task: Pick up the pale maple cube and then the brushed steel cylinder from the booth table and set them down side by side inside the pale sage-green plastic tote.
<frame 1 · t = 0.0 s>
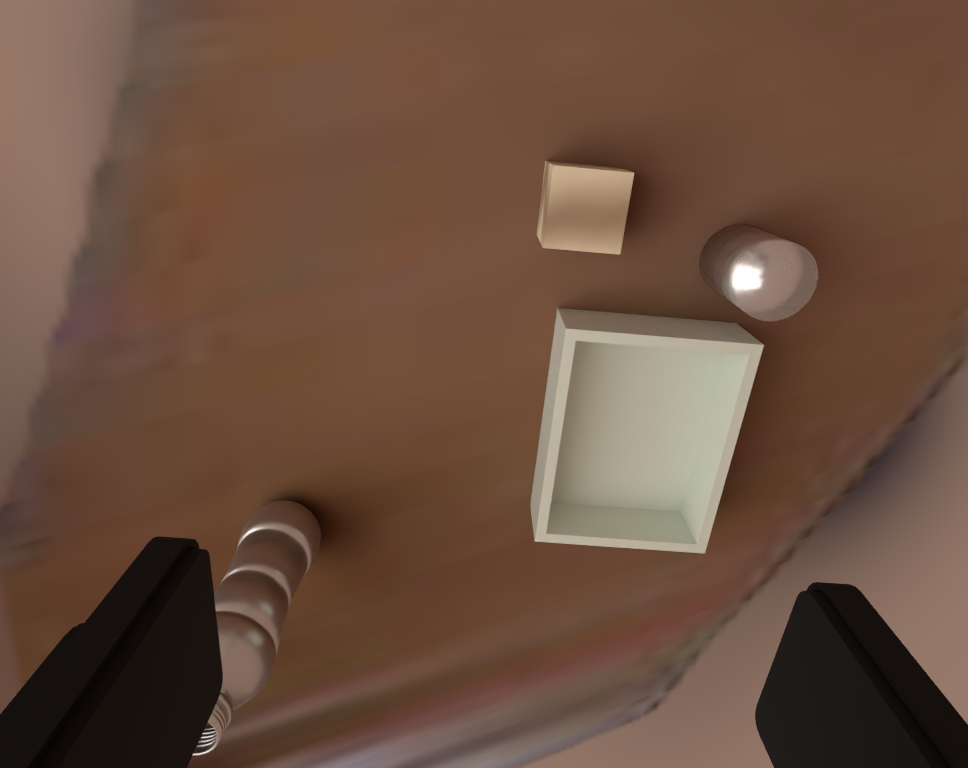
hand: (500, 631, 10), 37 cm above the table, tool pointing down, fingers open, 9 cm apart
plastic bottle: (290, 521, 53), on the table
maple cube: (576, 201, 43), on the table
tote: (626, 419, 49), on the table
steel cylinder: (734, 259, 44), on the table
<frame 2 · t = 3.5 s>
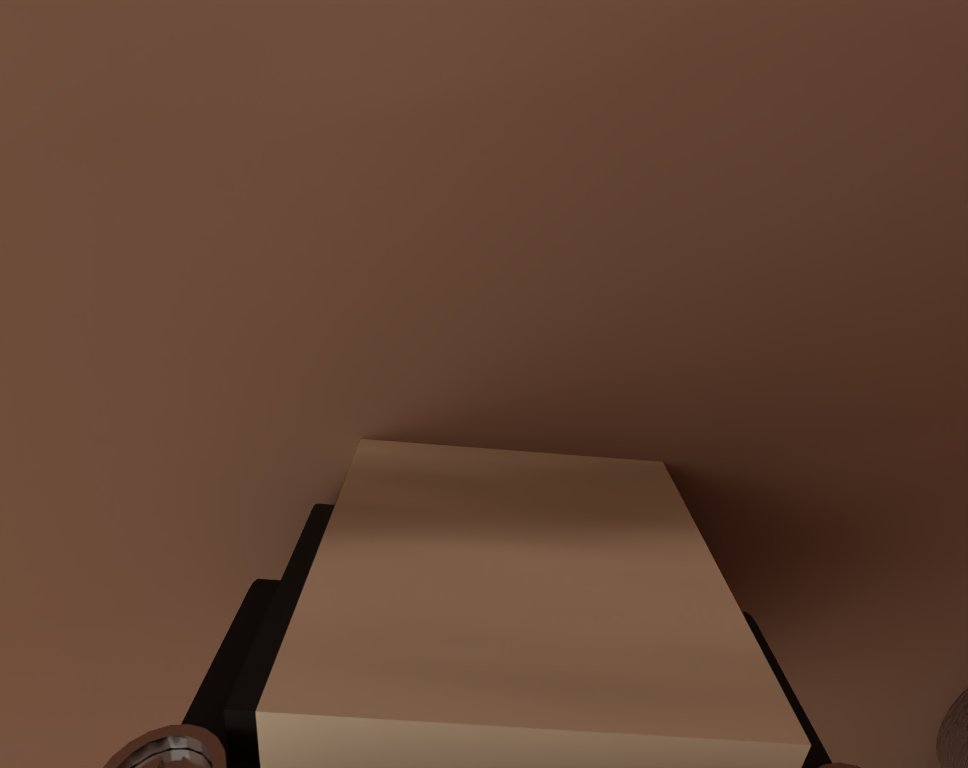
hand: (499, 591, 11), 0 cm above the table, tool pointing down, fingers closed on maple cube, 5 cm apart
maple cube: (498, 570, 11), on the table, touching gripper
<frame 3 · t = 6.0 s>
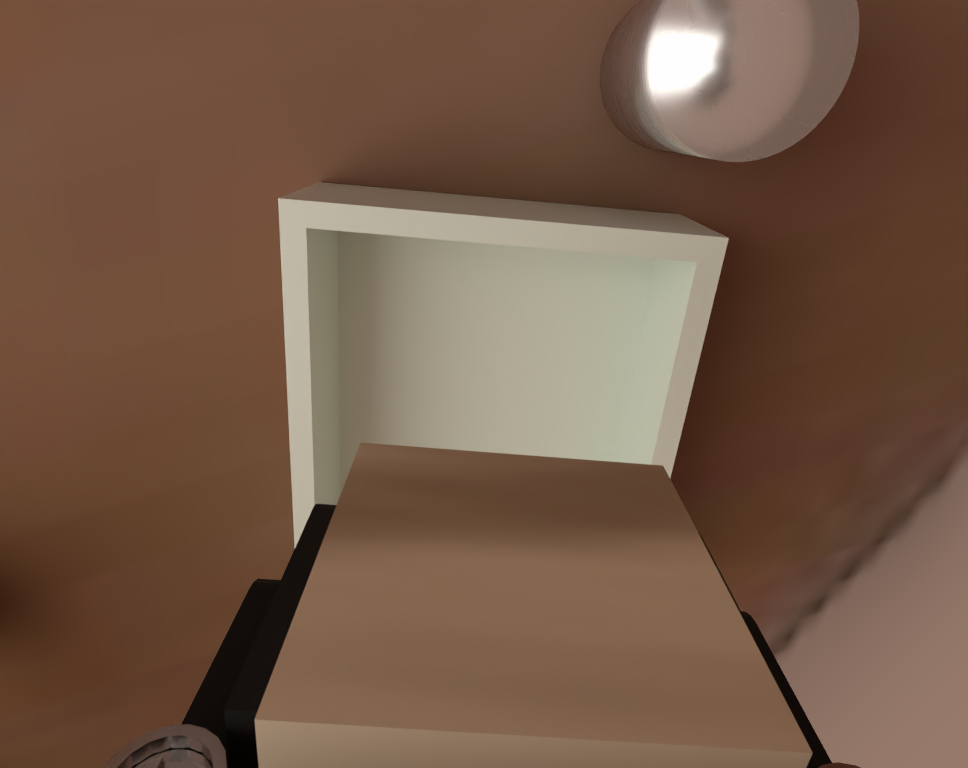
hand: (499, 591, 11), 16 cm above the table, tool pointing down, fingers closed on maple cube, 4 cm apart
maple cube: (498, 574, 11), point 15 cm above the table, touching gripper
tote: (482, 408, 26), on the table
steel cylinder: (671, 72, 21), on the table
when the fingers open (4 cm above the table, at t = 8.5 s): maple cube drops 3 cm, resting on tote.
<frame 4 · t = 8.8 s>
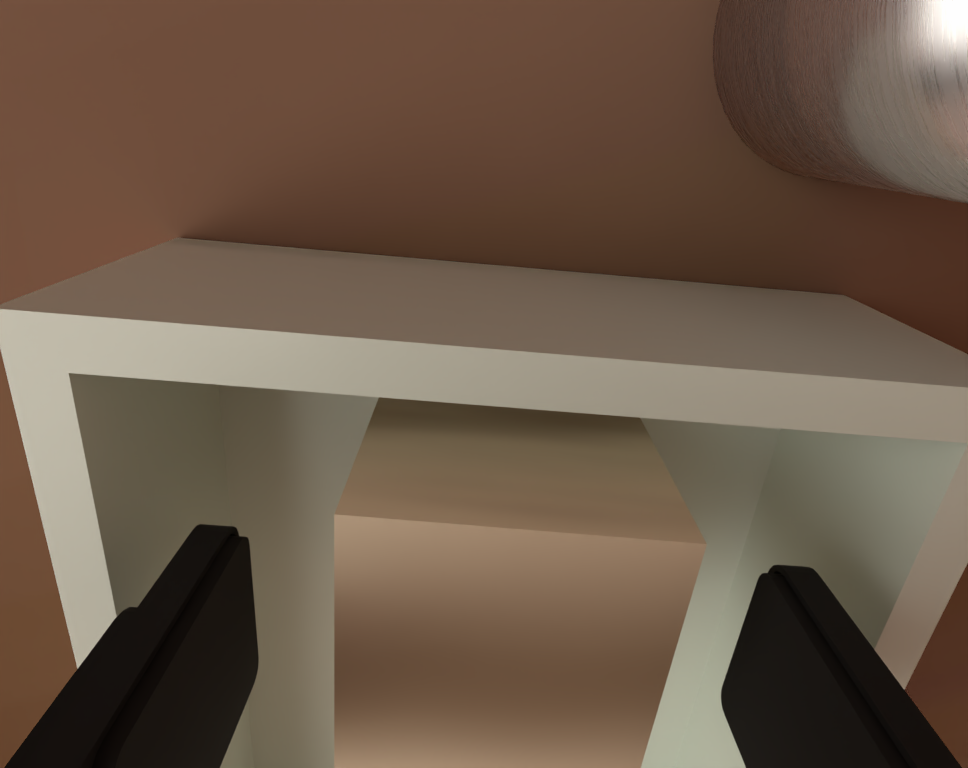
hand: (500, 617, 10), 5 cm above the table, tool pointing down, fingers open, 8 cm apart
maple cube: (496, 484, 14), point 1 cm above the table, touching tote
tote: (480, 602, 16), on the table
steel cylinder: (856, 28, 11), on the table
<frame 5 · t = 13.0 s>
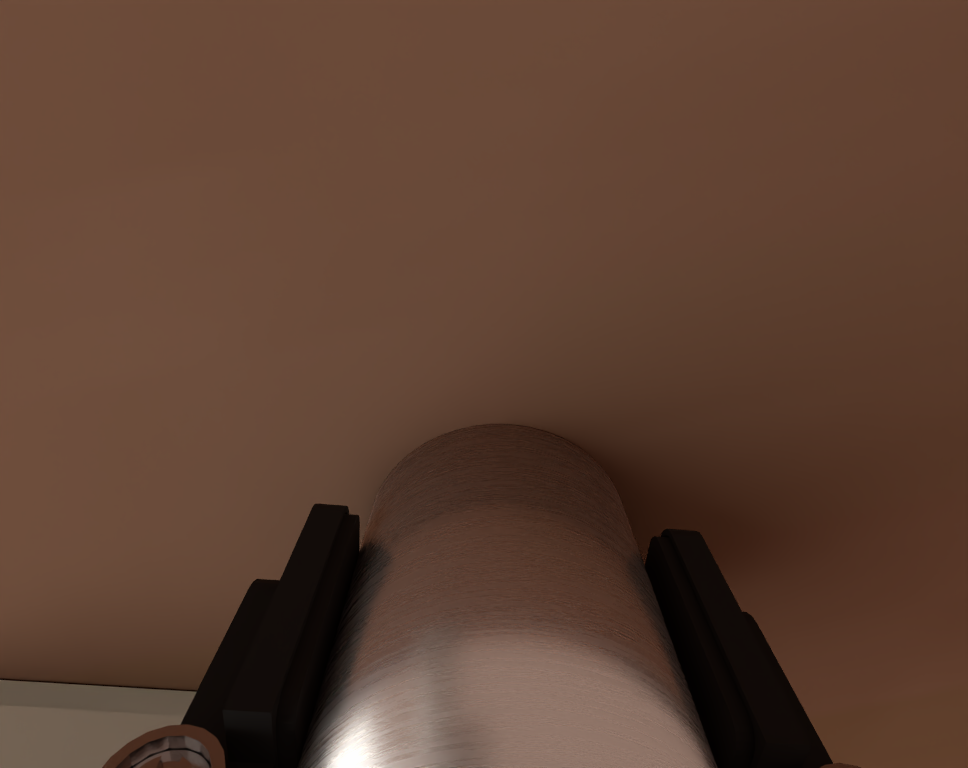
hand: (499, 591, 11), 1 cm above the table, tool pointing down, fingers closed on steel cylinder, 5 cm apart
steel cylinder: (497, 538, 12), on the table, touching gripper
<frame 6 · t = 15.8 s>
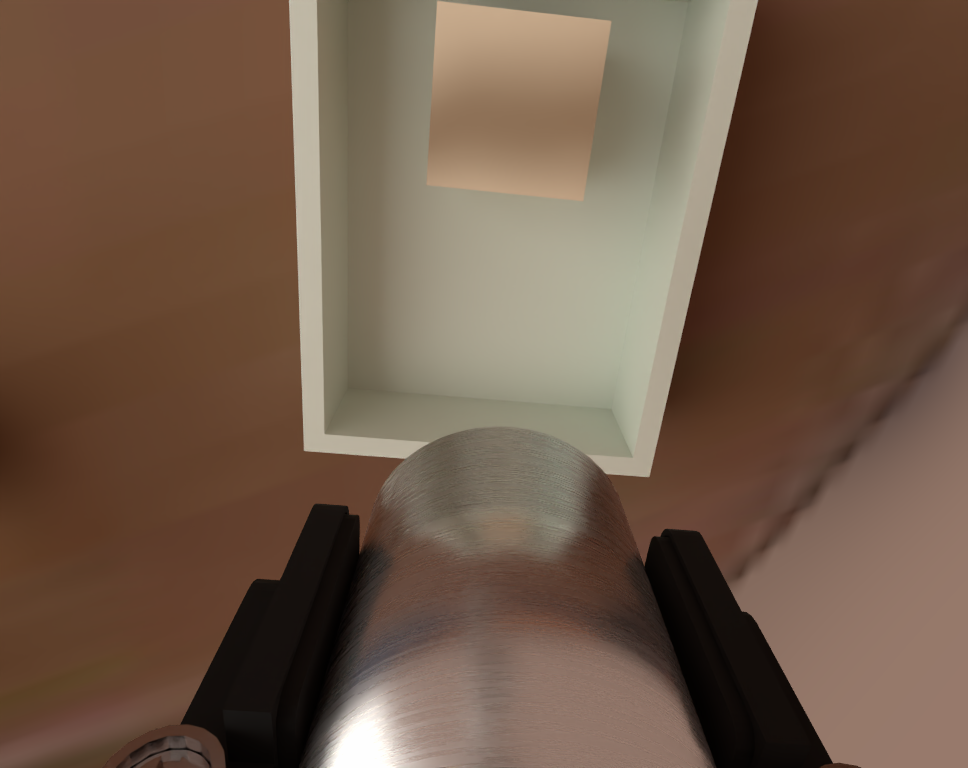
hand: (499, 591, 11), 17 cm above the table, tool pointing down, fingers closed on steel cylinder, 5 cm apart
maple cube: (508, 109, 23), point 1 cm above the table, touching tote
tote: (497, 216, 25), on the table
steel cylinder: (497, 540, 12), point 16 cm above the table, touching gripper
when the fingers open (4 cm above the table, at t = 18.6 s): steel cylinder drops 2 cm, resting on tote.
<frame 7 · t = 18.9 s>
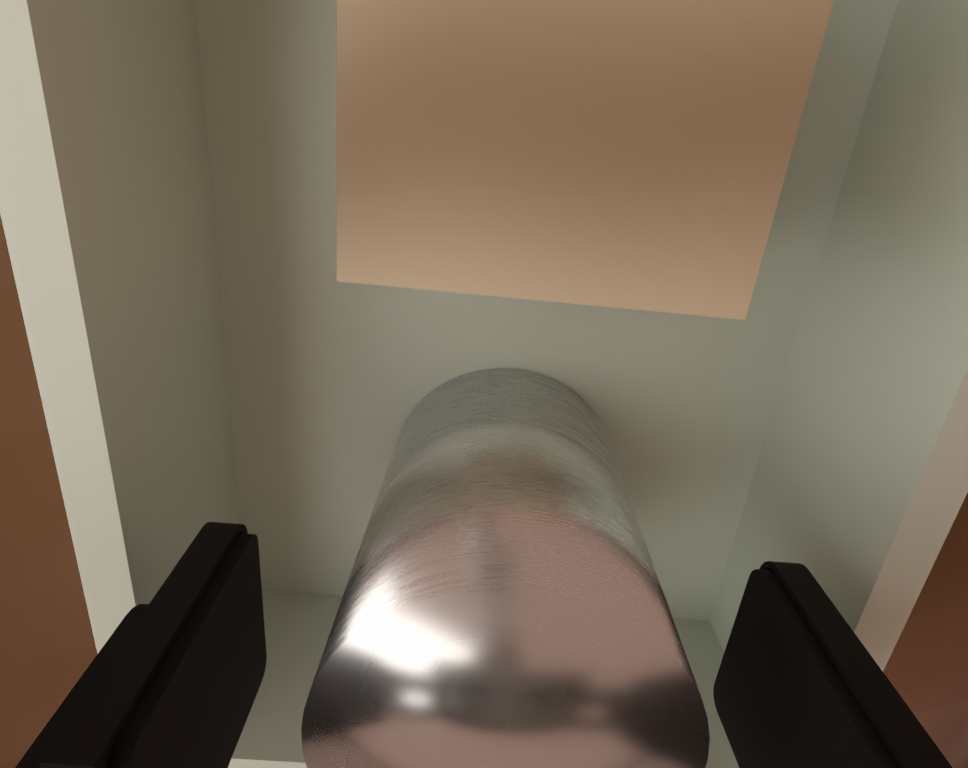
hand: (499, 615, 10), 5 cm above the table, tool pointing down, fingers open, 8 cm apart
maple cube: (537, 92, 11), point 1 cm above the table, touching tote
tote: (512, 298, 13), on the table
steel cylinder: (502, 469, 14), point 1 cm above the table, touching tote
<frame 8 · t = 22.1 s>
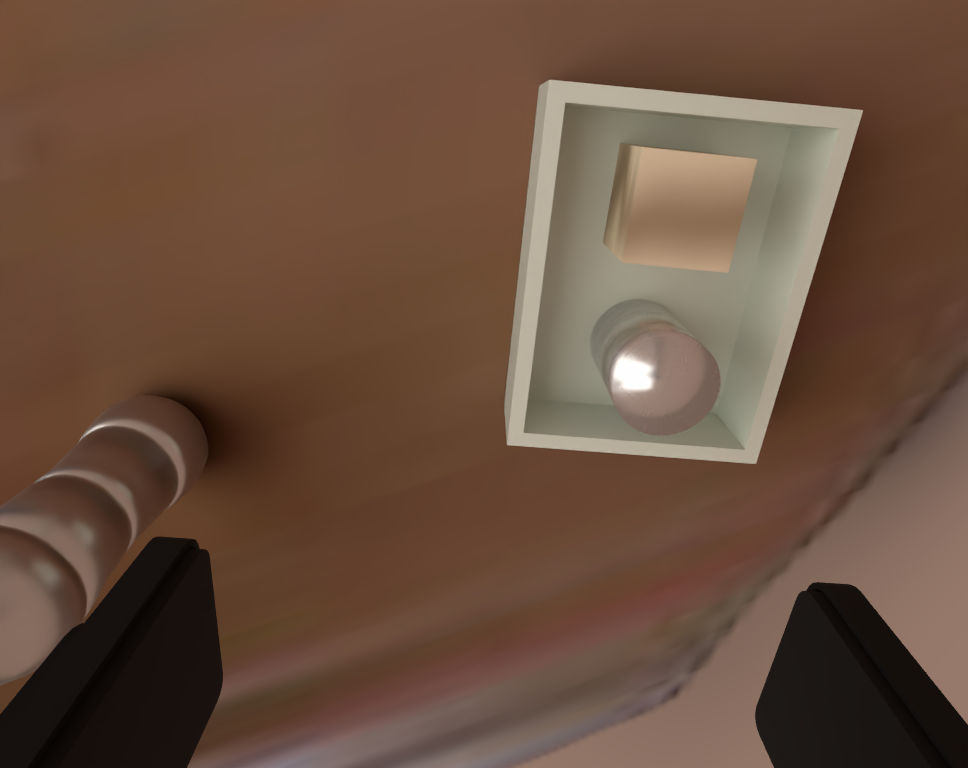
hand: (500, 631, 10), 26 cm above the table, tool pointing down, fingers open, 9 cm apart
plastic bottle: (169, 431, 38), on the table
maple cube: (658, 199, 32), point 1 cm above the table, touching tote
tote: (641, 272, 34), on the table
steel cylinder: (633, 341, 35), point 1 cm above the table, touching tote
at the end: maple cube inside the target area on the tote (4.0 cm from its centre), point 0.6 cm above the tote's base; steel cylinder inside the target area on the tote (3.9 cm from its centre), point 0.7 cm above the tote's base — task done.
